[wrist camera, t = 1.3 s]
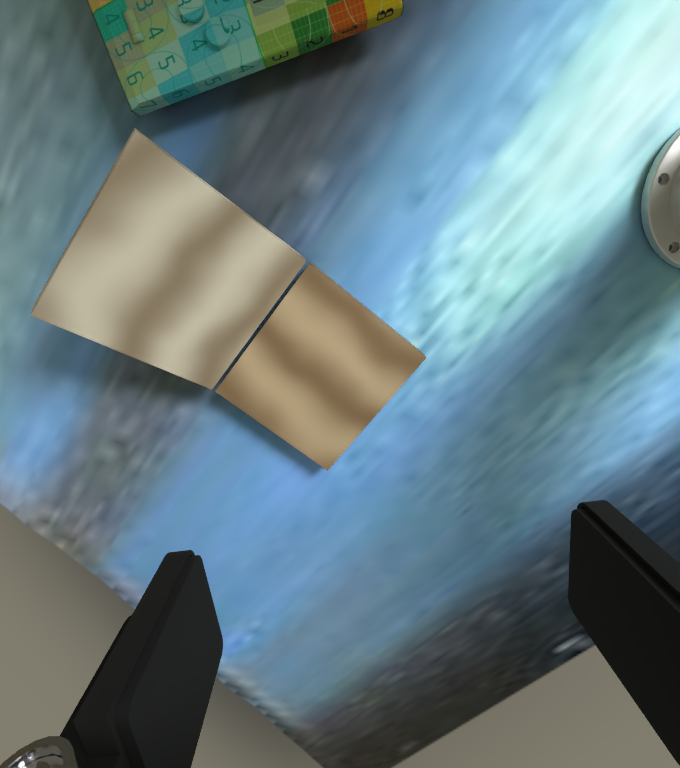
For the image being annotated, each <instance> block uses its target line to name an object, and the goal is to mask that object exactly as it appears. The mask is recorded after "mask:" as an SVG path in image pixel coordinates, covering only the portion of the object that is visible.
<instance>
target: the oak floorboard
mask: <svg viewBox="0 0 680 768" xmlns="http://www.w3.org/2000/svg"><path fill="white" fill-rule="evenodd" d="M425 359H426V357H425V355H424V354H423V353H422V352H421V351H420V350H418V349H417V348H416V347H415V346H413V345H412V344H411V343H410V342H408V341H407V340H406V339H405V338H404V337H402V336H401V335H400V334H399V333H397V332H396V331H395V330H394V329H392V328H391V327H390V326H389V325H387V324H386V323H385V322H384V321H383V320H381V319H380V318H379V317H378V316H376V315H375V314H374V313H373V312H371V311H370V310H369V309H368V308H367V307H365V306H364V305H363V304H362V303H360V302H359V301H358V300H357V299H355V298H354V297H353V296H352V295H350V294H349V293H348V292H347V291H346V290H344V289H343V288H342V287H341V286H339V285H338V284H337V283H336V282H334V281H333V280H332V279H331V278H330V277H328V276H327V275H326V274H325V273H323V272H322V271H321V270H320V269H318V268H317V267H316V266H315V265H313V264H312V263H310V264H309V265H308V266H307V268H306V269H305V270H304V272H303V273H302V274H301V276H300V277H299V278H298V280H297V281H296V283H295V284H294V285H293V287H292V288H291V289H290V291H289V292H288V293H287V295H286V296H285V297H284V299H283V300H282V301H281V303H280V304H279V306H278V307H277V308H276V310H275V311H274V312H273V314H272V315H271V316H270V318H269V319H268V320H267V322H266V323H265V324H264V326H263V327H262V329H261V330H260V331H259V333H258V334H257V335H256V337H255V338H254V339H253V341H252V342H251V343H250V345H249V346H248V347H247V349H246V350H245V352H244V353H243V354H242V356H241V357H240V358H239V360H238V361H237V362H236V364H235V365H234V366H233V368H232V369H231V371H230V372H229V373H228V375H227V376H226V377H225V379H224V380H223V381H222V383H221V384H220V385H219V387H218V388H217V389H216V391H215V392H217V393H218V394H220V395H221V396H222V397H224V398H225V399H227V400H228V401H229V402H231V403H232V404H234V405H235V406H237V407H238V408H239V409H241V410H242V411H244V412H245V413H247V414H248V415H249V416H251V417H252V418H254V419H255V420H256V421H258V422H259V423H261V424H262V425H264V426H265V427H266V428H268V429H269V430H271V431H272V432H273V433H275V434H276V435H278V436H279V437H281V438H282V439H283V440H285V441H286V442H288V443H289V444H290V445H292V446H293V447H295V448H296V449H298V450H299V451H300V452H302V453H303V454H305V455H306V456H307V457H309V458H310V459H312V460H313V461H315V462H316V463H317V464H319V465H320V466H322V467H323V468H325V469H326V470H327V471H328V469H329V468H330V467H331V466H332V465H333V464H334V463H335V461H336V460H337V459H338V458H339V457H340V456H341V455H342V453H343V452H344V451H345V450H346V449H347V448H348V447H349V445H350V444H351V443H352V442H353V441H354V440H355V439H356V437H357V436H358V435H359V434H360V433H361V432H362V431H363V429H364V428H365V427H366V426H367V425H368V424H369V423H370V421H371V420H372V419H373V418H374V417H375V416H376V415H377V413H378V412H379V411H380V410H381V409H382V408H383V407H384V405H385V404H386V403H387V402H388V401H389V400H390V399H391V397H392V396H393V395H394V394H395V393H396V392H397V391H398V389H399V388H400V387H401V386H402V385H403V384H404V383H405V381H406V380H407V379H408V378H409V377H410V376H411V375H412V373H413V372H414V371H415V370H416V369H417V368H418V367H419V365H420V364H421V363H422V362H423V361H424V360H425Z"/></svg>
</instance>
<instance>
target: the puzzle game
mask: <svg viewBox="0 0 680 768" xmlns="http://www.w3.org/2000/svg"><path fill="white" fill-rule="evenodd" d="M87 2H88V4H89V7H90V9H91V12H92V14H93V17H94V19H95V22H96V24H97V27H98V29H99V32H100V34H101V37H102V39H103V42H104V44H105V47H106V49H107V52H108V54H109V57H110V59H111V62H112V64H113V67H114V69H115V72H116V74H117V77H118V79H119V82H120V84H121V86H122V89H123V91H124V94H125V96H126V99H127V101H128V104H129V106H130V109H131V111H132V112H134V113H135V114H137V115H138V116H142V115H144V114H147V113H150V112H152V111H155V110H157V109H160V108H163V107H165V106H168V105H171V104H173V103H176V102H179V101H181V100H184V99H186V98H189V97H192V96H194V95H197V94H200V93H202V92H205V91H207V90H210V89H213V88H215V87H218V86H221V85H223V84H226V83H228V82H231V81H234V80H236V79H239V78H242V77H244V76H247V75H249V74H252V73H255V72H257V71H260V70H263V69H265V68H268V67H270V66H273V65H276V64H278V63H281V62H284V61H286V60H289V59H291V58H294V57H297V56H299V55H302V54H305V53H307V52H310V51H312V50H315V49H318V48H320V47H323V46H326V45H328V44H331V43H333V42H336V41H339V40H341V39H344V38H347V37H349V36H352V35H354V34H357V33H360V32H362V31H365V30H368V29H370V28H373V27H375V26H378V25H381V24H383V23H386V22H389V21H391V20H394V19H396V18H397V17H399V16H401V15H402V13H403V9H404V4H403V0H87Z"/></svg>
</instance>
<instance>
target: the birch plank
mask: <svg viewBox="0 0 680 768" xmlns="http://www.w3.org/2000/svg"><path fill="white" fill-rule="evenodd" d="M305 262H306V260H305V259H304V258H303V257H302V256H301V255H300V254H299V253H298V252H297V251H296V250H294V249H293V248H292V247H290V246H289V245H288V244H286V243H285V242H284V241H282V240H281V239H280V238H279V237H277V236H276V235H275V234H273V233H272V232H271V231H269V230H268V229H267V228H265V227H264V226H263V225H261V224H260V223H259V222H258V221H256V220H255V219H254V218H252V217H251V216H250V215H248V214H247V213H246V212H244V211H243V210H242V209H240V208H239V207H238V206H237V205H235V204H234V203H233V202H231V201H230V200H229V199H227V198H226V197H225V196H223V195H222V194H221V193H219V192H218V191H217V190H216V189H214V188H213V187H212V186H210V185H209V184H208V183H206V182H205V181H204V180H202V179H201V178H200V177H198V176H197V175H196V174H195V173H193V172H192V171H191V170H189V169H188V168H187V167H185V166H184V165H183V164H181V163H180V162H179V161H177V160H176V159H175V158H174V157H172V156H171V155H170V154H168V153H167V152H166V151H164V150H163V149H162V148H160V147H159V146H158V145H156V144H155V143H154V142H153V141H151V140H150V139H149V138H147V137H146V136H145V135H143V134H142V133H141V132H139V131H138V130H137V129H135V128H134V130H133V131H132V133H131V135H130V137H129V138H128V140H127V142H126V144H125V145H124V147H123V149H122V151H121V152H120V154H119V156H118V158H117V160H116V161H115V163H114V165H113V167H112V168H111V170H110V172H109V174H108V175H107V177H106V179H105V181H104V182H103V184H102V186H101V188H100V190H99V191H98V193H97V195H96V197H95V198H94V200H93V202H92V204H91V205H90V207H89V209H88V211H87V212H86V214H85V216H84V218H83V220H82V221H81V223H80V225H79V227H78V228H77V230H76V232H75V234H74V235H73V237H72V239H71V241H70V242H69V244H68V246H67V248H66V250H65V251H64V253H63V255H62V257H61V258H60V260H59V262H58V264H57V265H56V267H55V269H54V271H53V273H52V274H51V276H50V278H49V280H48V281H47V283H46V285H45V287H44V288H43V290H42V292H41V294H40V295H39V297H38V299H37V301H36V303H35V305H34V307H33V310H32V313H31V316H33V317H36V318H38V319H41V320H43V321H46V322H48V323H50V324H53V325H55V326H58V327H60V328H63V329H65V330H68V331H70V332H72V333H75V334H77V335H80V336H82V337H85V338H87V339H90V340H92V341H94V342H97V343H99V344H102V345H104V346H107V347H109V348H111V349H114V350H116V351H119V352H121V353H124V354H126V355H129V356H131V357H133V358H136V359H138V360H141V361H143V362H146V363H148V364H150V365H153V366H155V367H158V368H160V369H163V370H165V371H168V372H170V373H172V374H175V375H177V376H180V377H182V378H185V379H187V380H189V381H192V382H194V383H197V384H199V385H202V386H204V387H207V388H209V389H211V390H212V389H213V388H214V386H215V385H216V384H217V382H218V381H219V379H220V378H221V377H222V375H223V374H224V373H225V371H226V370H227V369H228V367H229V366H230V364H231V363H232V362H233V360H234V359H235V358H236V356H237V355H238V354H239V352H240V351H241V350H242V348H243V347H244V345H245V344H246V343H247V341H248V340H249V339H250V337H251V336H252V335H253V333H254V332H255V330H256V329H257V328H258V326H259V325H260V324H261V322H262V321H263V320H264V318H265V317H266V316H267V314H268V313H269V311H270V310H271V309H272V307H273V306H274V305H275V303H276V302H277V301H278V299H279V298H280V296H281V295H282V294H283V292H284V291H285V290H286V288H287V287H288V286H289V284H290V283H291V282H292V280H293V279H294V277H295V276H296V275H297V273H298V272H299V271H300V269H301V268H302V267H303V265H304V264H305Z"/></svg>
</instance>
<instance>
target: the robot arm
mask: <svg viewBox="0 0 680 768" xmlns="http://www.w3.org/2000/svg"><path fill="white" fill-rule="evenodd" d="M641 216H642V225H643V228H644V232H645V235H646V238H647V239H648V241H649V243H650V245H651V247H652V248H653V250H654V251H655V252H656V253H657V254H658V255H659V256H660V257H661V258H662V259H663V260H665V261H666V262H668V263H669V264H670V265H672V266H675V267H677V268H680V129H679V130H678V131H676V133H675V134H674V135H673V136H672V137H671V138H670V139H669V140H668V141H667V142H666V144H665V145H664V146H663V148H662V149H661V151H660V152H659V154H658V155H657V157H656V158H655V160H654V162H653V164H652V166H651V168H650V171H649V173H648V175H647V178H646V181H645V185H644V188H643V192H642V202H641ZM568 599H569V604H570V607H571V609H572V611H573V613H574V614H575V616H576V617H577V619H578V620H579V622H580V623H581V625H582V626H583V627H584V629H585V630H586V632H587V633H588V635H589V636H590V638H591V639H592V640H593V642H594V643H595V645H596V646H597V648H598V649H599V651H600V652H601V653H602V655H603V656H604V658H605V659H606V661H607V662H608V663H609V665H610V666H611V668H612V669H613V671H614V672H615V674H616V675H617V677H618V678H619V679H620V681H621V682H622V684H623V685H624V687H625V688H626V690H627V691H628V692H629V694H630V695H631V697H632V698H633V700H634V701H635V703H636V704H637V705H638V707H639V708H640V710H641V711H642V713H643V714H644V715H645V717H646V718H647V720H648V721H649V723H650V724H651V726H652V727H653V729H654V730H655V731H656V733H657V734H658V736H659V737H660V739H661V740H662V741H663V743H664V744H665V746H666V747H667V749H668V750H669V752H670V753H671V754H672V756H673V757H674V759H675V760H676V761H677V763H678V764H679V765H680V564H679V563H678V562H677V561H676V560H675V559H674V558H672V557H671V556H670V555H669V554H668V553H667V552H665V551H664V550H663V549H662V548H661V547H660V546H658V545H657V544H656V543H655V542H654V541H653V540H652V539H650V538H649V537H648V536H647V535H646V534H645V533H643V532H642V531H641V530H640V529H639V528H638V527H637V526H635V525H634V524H633V523H632V522H631V521H630V520H628V519H627V518H626V517H625V516H624V515H623V514H621V513H620V512H619V511H618V510H617V509H616V508H615V507H613V506H612V505H611V504H610V503H609V502H607V501H605V500H600V501H591V502H583V503H580V504H579V505H578V506H577V509H576V510H573V511H572V514H571V535H570V561H569V587H568ZM222 650H223V639H222V634H221V630H220V627H219V623H218V619H217V615H216V611H215V607H214V604H213V600H212V596H211V592H210V588H209V584H208V581H207V577H206V573H205V569H204V565H203V561H202V558H201V557H200V556H199V555H196V556H195V554H194V552H193V551H191V550H187V551H178V552H170V553H168V554H166V556H165V557H164V559H163V561H162V563H161V564H160V566H159V568H158V570H157V572H156V573H155V575H154V577H153V579H152V580H151V582H150V584H149V586H148V588H147V589H146V591H145V593H144V595H143V596H142V598H141V600H140V602H139V604H138V605H137V607H136V609H135V611H134V613H133V614H132V615H131V616H130V617H128V618H127V620H126V621H125V623H124V624H123V626H122V628H121V629H120V631H119V633H118V635H117V636H116V638H115V640H114V642H113V643H112V645H111V647H110V649H109V650H108V652H107V654H106V656H105V658H104V659H103V661H102V663H101V664H100V666H99V668H98V670H97V671H96V673H95V675H94V677H93V678H92V680H91V682H90V684H89V685H88V688H87V689H86V691H85V693H84V694H83V696H82V698H81V699H80V701H79V703H78V705H77V706H76V708H75V710H74V712H73V714H72V715H71V717H70V719H69V721H68V722H67V724H66V726H65V728H64V729H63V731H62V733H61V735H60V736H48V737H45V738H42V739H39V740H36V741H34V742H32V743H30V744H29V745H27V746H25V747H23V748H21V749H20V750H18V751H17V752H16V753H15V754H13V755H12V756H11V757H9V758H8V759H7V760H6V761H4V762H3V763H2V764H1V766H0V768H191V764H192V761H193V757H194V754H195V750H196V746H197V742H198V739H199V736H200V732H201V728H202V725H203V721H204V717H205V713H206V710H207V707H208V703H209V699H210V695H211V692H212V688H213V685H214V681H215V678H216V674H217V670H218V667H219V663H220V659H221V656H222Z"/></svg>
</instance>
